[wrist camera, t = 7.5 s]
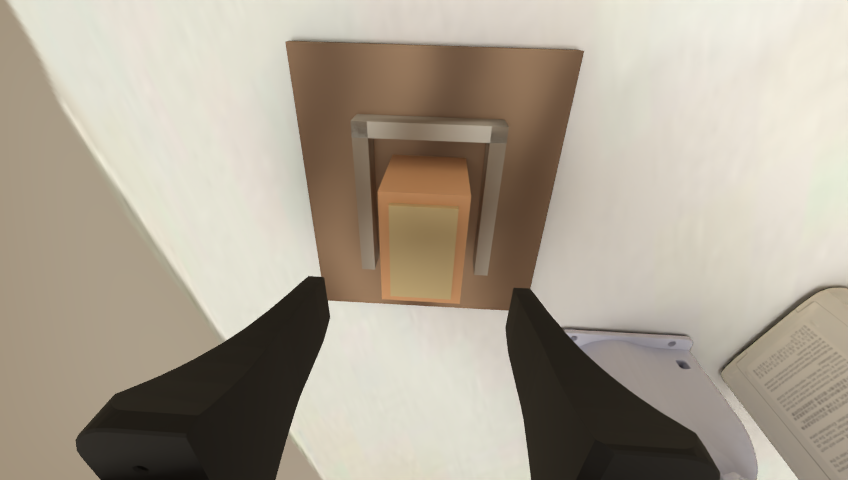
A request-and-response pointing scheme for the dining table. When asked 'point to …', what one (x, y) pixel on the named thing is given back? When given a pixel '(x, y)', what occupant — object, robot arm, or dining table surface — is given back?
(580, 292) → the dining table surface
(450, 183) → the connector plug
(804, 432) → the photo printer
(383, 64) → the end holder
